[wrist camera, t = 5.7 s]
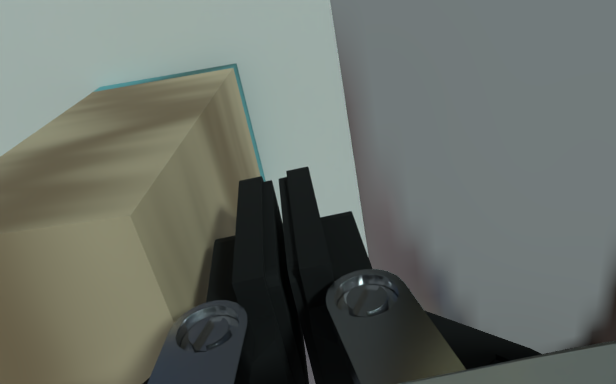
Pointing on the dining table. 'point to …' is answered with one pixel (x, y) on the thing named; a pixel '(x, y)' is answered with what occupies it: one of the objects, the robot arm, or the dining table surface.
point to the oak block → (118, 224)
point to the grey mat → (189, 57)
